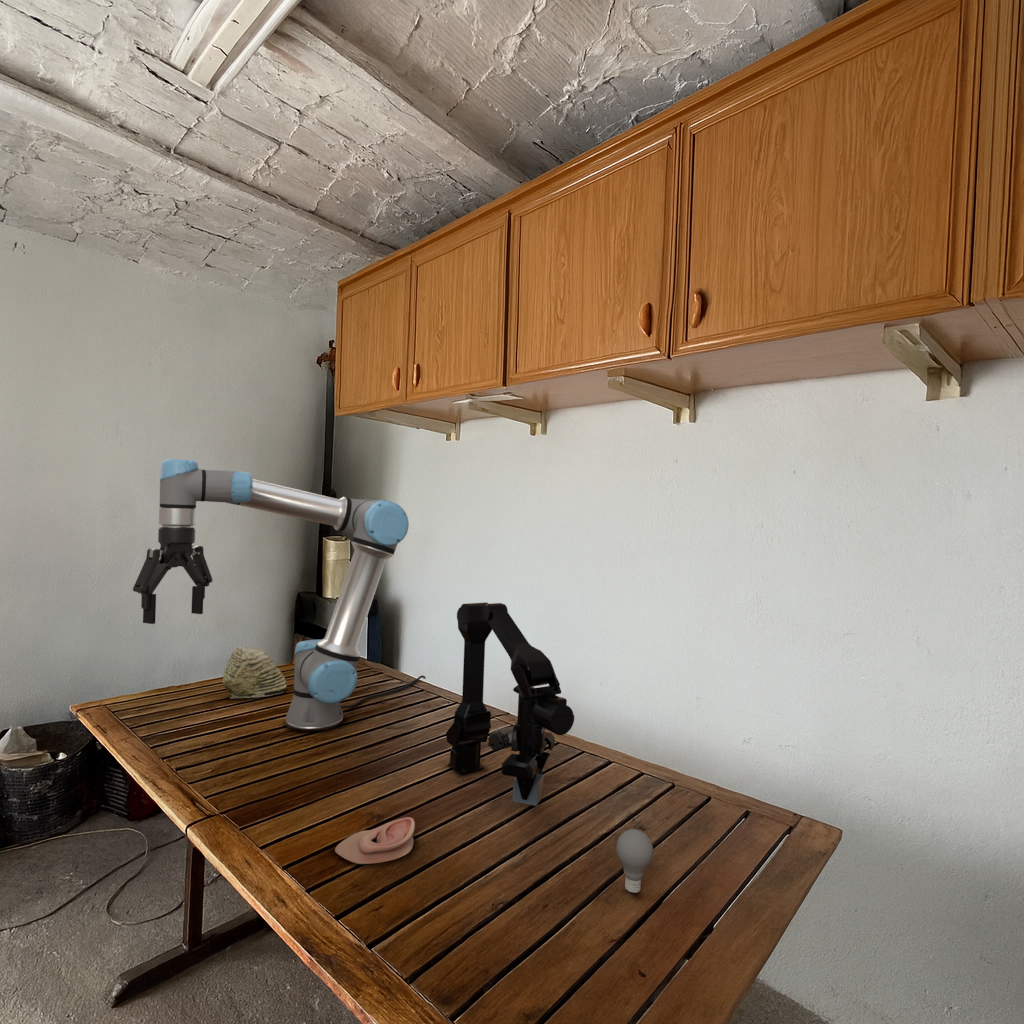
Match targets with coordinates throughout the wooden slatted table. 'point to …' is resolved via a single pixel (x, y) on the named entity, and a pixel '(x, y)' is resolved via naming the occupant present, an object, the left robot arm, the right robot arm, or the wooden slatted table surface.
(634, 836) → the light bulb
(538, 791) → the block
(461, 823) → the wooden slatted table surface
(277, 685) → the fossil
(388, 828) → the anatomical model
